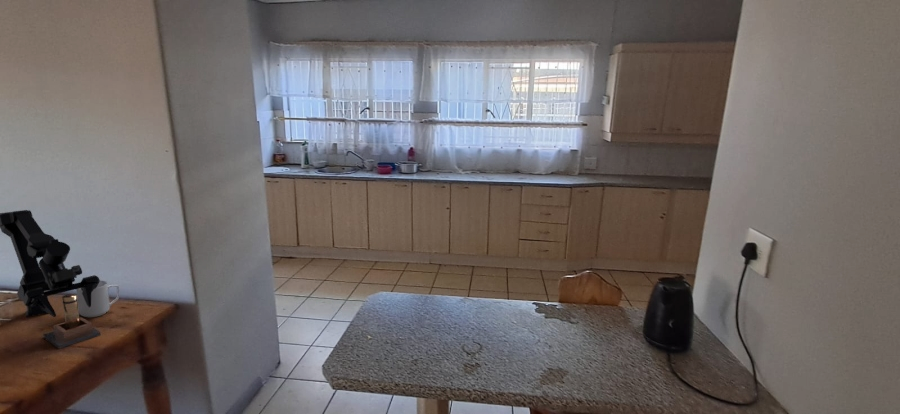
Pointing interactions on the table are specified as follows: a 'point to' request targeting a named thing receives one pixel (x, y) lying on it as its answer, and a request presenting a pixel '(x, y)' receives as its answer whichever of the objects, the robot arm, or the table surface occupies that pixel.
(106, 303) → the mug
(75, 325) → the gold metallic cylinder
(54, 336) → the frame
